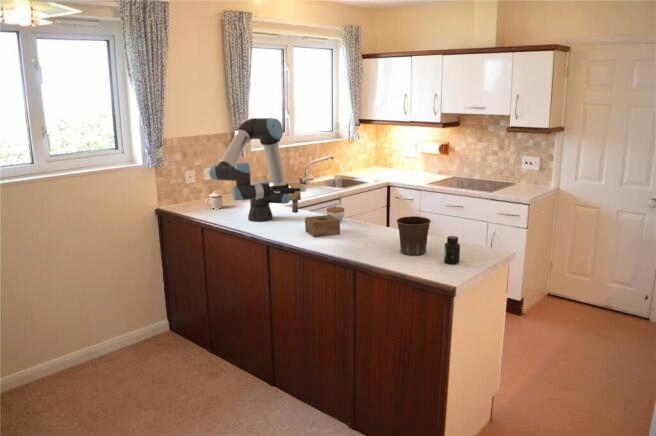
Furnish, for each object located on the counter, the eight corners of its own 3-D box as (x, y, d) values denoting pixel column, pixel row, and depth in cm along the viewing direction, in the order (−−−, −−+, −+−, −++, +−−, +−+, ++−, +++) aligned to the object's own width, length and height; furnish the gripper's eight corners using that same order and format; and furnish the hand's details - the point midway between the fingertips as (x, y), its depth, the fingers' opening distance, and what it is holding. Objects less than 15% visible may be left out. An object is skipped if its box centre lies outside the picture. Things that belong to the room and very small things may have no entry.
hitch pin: (287, 211, 296) (286, 182, 292) (298, 210, 298) (298, 181, 294) (291, 213, 290) (290, 184, 286) (302, 212, 292) (301, 183, 288)
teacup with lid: (219, 206, 373) (218, 189, 370) (225, 208, 366) (224, 191, 364) (203, 208, 366) (201, 191, 363) (209, 210, 359) (208, 193, 356)
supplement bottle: (442, 264, 244) (443, 238, 241) (445, 259, 250) (446, 234, 248) (458, 265, 242) (459, 239, 239) (460, 260, 248) (461, 235, 245)
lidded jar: (333, 218, 333) (333, 203, 331) (348, 220, 327) (347, 205, 325) (323, 221, 324) (323, 206, 322) (338, 224, 318) (337, 208, 316)
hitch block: (305, 231, 304) (304, 217, 302) (329, 228, 310) (329, 214, 308) (314, 237, 291) (314, 223, 289) (340, 234, 296) (339, 220, 294)
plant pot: (407, 259, 252) (408, 225, 248) (390, 250, 266) (390, 218, 263) (436, 254, 258) (437, 222, 254) (418, 245, 273) (418, 215, 269)
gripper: (258, 195, 294) (298, 191, 302) (267, 201, 277) (309, 197, 285) (257, 181, 292) (297, 178, 300) (266, 187, 275) (309, 183, 283)
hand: (303, 187), depth 292 cm, fingers closed on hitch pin, 6 cm apart
